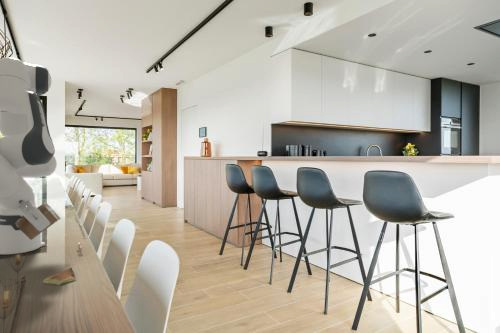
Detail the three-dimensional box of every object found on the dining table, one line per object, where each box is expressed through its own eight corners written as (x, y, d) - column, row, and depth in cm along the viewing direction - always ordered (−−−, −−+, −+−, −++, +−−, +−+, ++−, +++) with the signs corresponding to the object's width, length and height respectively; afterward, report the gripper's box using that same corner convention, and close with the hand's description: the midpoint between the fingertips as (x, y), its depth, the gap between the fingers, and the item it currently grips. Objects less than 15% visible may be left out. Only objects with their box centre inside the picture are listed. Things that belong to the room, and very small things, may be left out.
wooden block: (14, 223, 100) (45, 202, 105) (24, 232, 103) (53, 211, 109) (21, 231, 97) (52, 209, 103) (31, 240, 101) (60, 218, 106)
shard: (71, 271, 104) (71, 266, 104) (91, 274, 103) (91, 268, 102) (42, 284, 94) (42, 278, 94) (64, 287, 92) (64, 280, 92)
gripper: (40, 203, 90) (64, 231, 100) (10, 173, 101) (35, 201, 110) (17, 218, 87) (45, 245, 97) (-11, 186, 97) (17, 213, 107)
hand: (40, 222), depth 104 cm, fingers closed on wooden block, 5 cm apart
